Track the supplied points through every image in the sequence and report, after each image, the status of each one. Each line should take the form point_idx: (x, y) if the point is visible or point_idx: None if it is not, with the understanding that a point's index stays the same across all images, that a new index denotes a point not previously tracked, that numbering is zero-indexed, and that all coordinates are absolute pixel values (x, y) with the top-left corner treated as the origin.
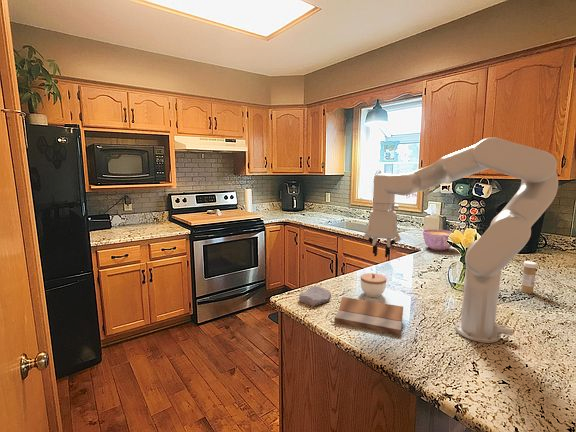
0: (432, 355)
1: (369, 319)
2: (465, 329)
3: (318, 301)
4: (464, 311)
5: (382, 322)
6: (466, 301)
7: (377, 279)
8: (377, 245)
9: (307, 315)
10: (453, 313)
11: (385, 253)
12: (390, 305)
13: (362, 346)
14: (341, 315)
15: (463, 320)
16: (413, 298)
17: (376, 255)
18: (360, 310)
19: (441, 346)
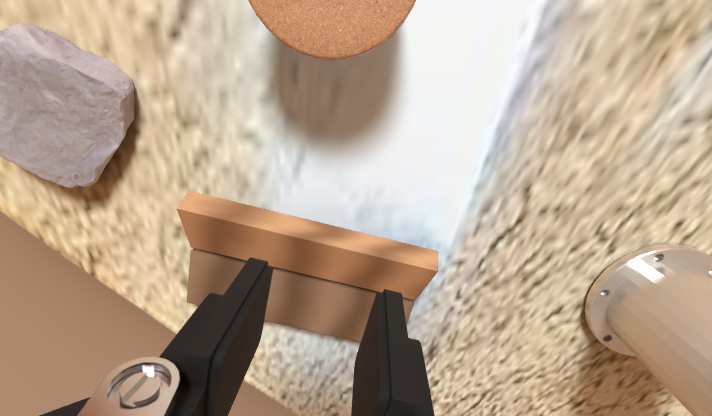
0: (452, 404)
1: (304, 302)
2: (612, 327)
3: (93, 183)
4: (658, 363)
5: (346, 315)
6: (699, 410)
7: (354, 10)
8: (224, 363)
9: (97, 255)
10: (667, 164)
11: (355, 401)
12: (387, 261)
13: (286, 388)
14: (207, 287)
15: (630, 335)
16: (557, 10)
17: (263, 320)
18: (270, 259)
19: (493, 370)
